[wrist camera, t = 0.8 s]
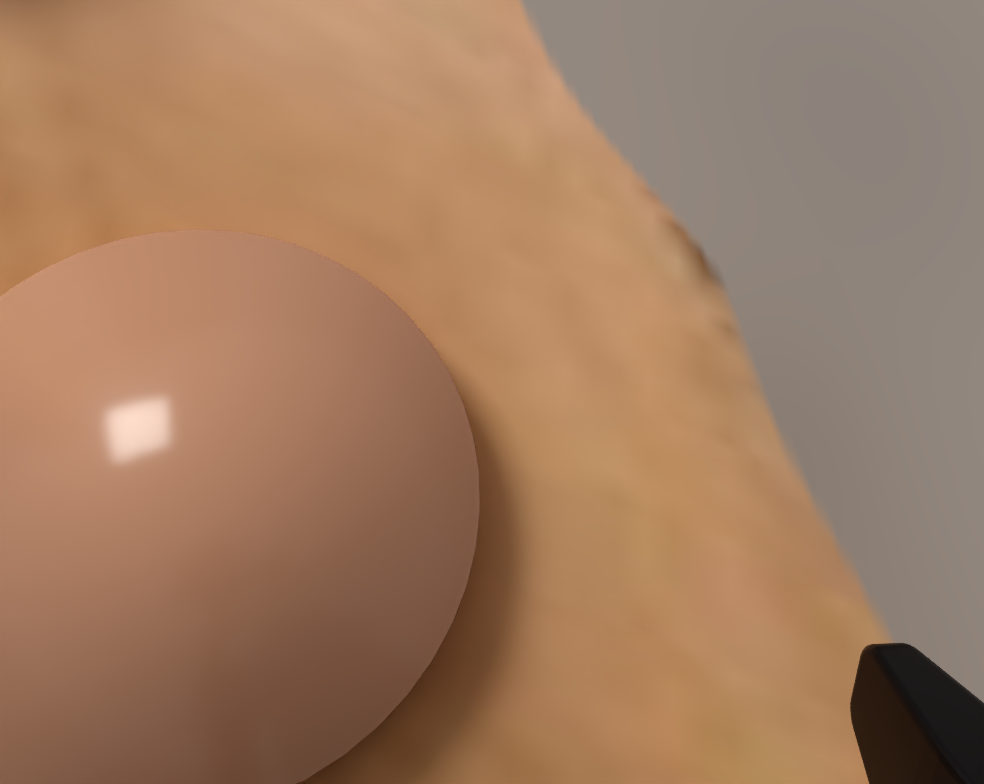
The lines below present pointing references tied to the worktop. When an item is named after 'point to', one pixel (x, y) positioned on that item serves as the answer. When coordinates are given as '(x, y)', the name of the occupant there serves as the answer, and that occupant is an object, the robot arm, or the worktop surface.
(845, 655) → the worktop surface
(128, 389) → the peach round platter
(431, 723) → the worktop surface
